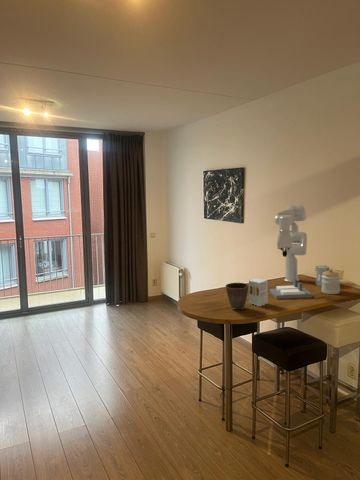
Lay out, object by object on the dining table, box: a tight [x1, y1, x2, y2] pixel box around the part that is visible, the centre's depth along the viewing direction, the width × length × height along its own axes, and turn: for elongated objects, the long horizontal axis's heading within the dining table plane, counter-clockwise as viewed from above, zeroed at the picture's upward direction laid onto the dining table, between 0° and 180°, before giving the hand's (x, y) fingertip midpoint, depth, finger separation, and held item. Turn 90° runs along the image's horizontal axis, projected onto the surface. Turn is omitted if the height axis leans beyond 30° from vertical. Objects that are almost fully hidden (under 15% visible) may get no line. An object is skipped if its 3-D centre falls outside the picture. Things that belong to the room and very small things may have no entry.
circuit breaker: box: [314, 265, 330, 287], centre depth 287 cm, size 8×14×15 cm, turn 89°
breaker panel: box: [269, 285, 313, 300], centre depth 266 cm, size 18×26×5 cm
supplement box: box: [248, 277, 269, 307], centre depth 247 cm, size 10×9×17 cm
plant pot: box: [225, 282, 249, 310], centre depth 239 cm, size 15×15×16 cm
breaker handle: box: [298, 281, 303, 291], centre depth 260 cm, size 4×2×5 cm, turn 1°
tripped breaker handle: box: [292, 279, 299, 287], centre depth 270 cm, size 4×2×5 cm, turn 1°
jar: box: [320, 268, 341, 295], centre depth 267 cm, size 13×13×18 cm
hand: (284, 256), depth 272 cm, fingers closed
